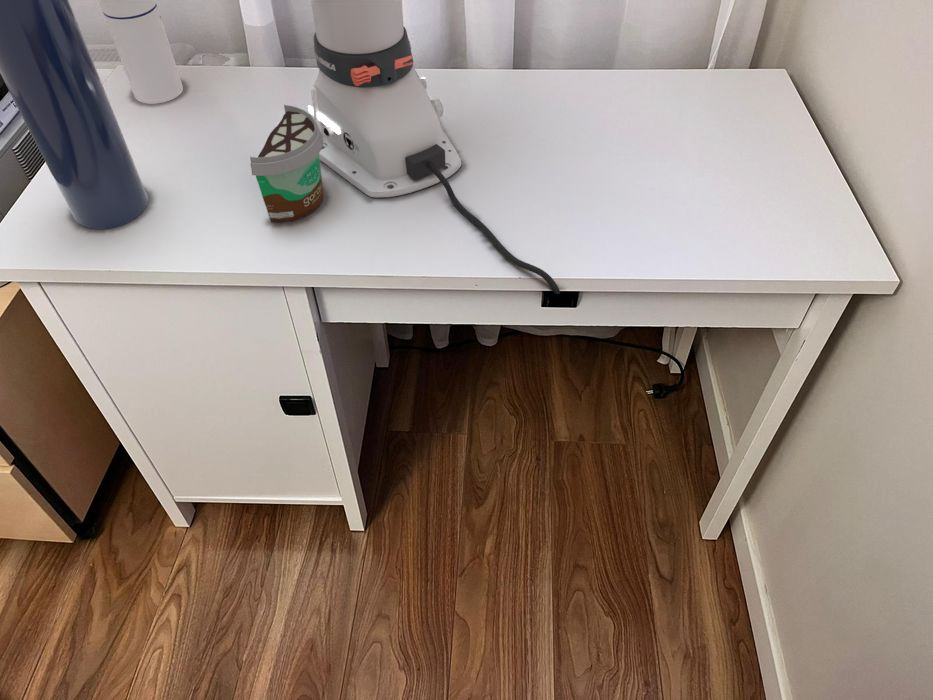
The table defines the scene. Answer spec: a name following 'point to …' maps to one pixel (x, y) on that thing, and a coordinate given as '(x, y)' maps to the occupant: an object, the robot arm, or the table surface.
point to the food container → (291, 167)
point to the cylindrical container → (143, 49)
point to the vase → (68, 112)
